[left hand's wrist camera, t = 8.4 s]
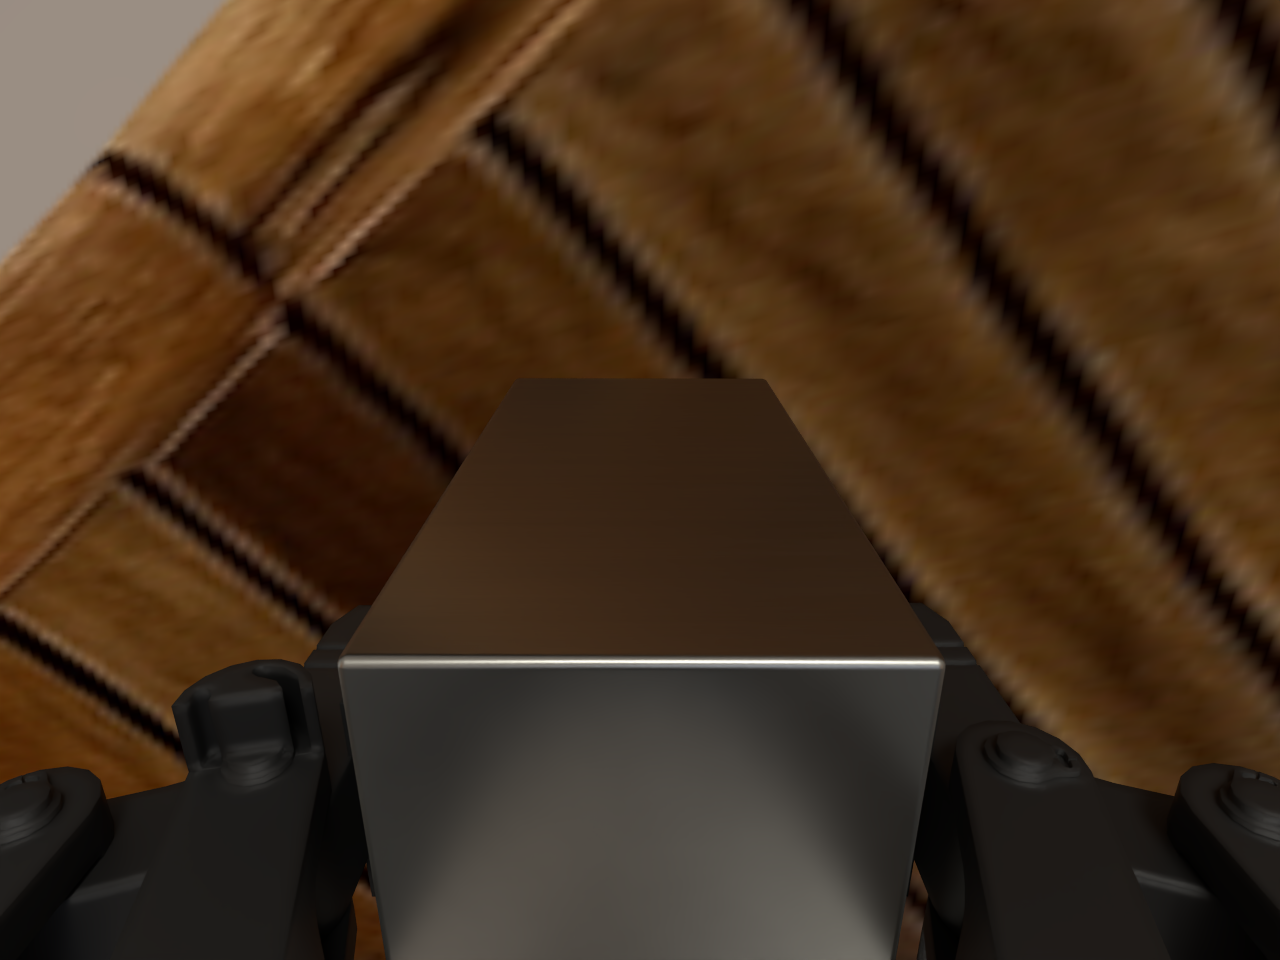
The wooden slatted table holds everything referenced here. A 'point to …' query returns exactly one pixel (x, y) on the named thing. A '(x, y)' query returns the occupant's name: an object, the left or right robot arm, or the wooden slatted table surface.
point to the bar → (641, 694)
